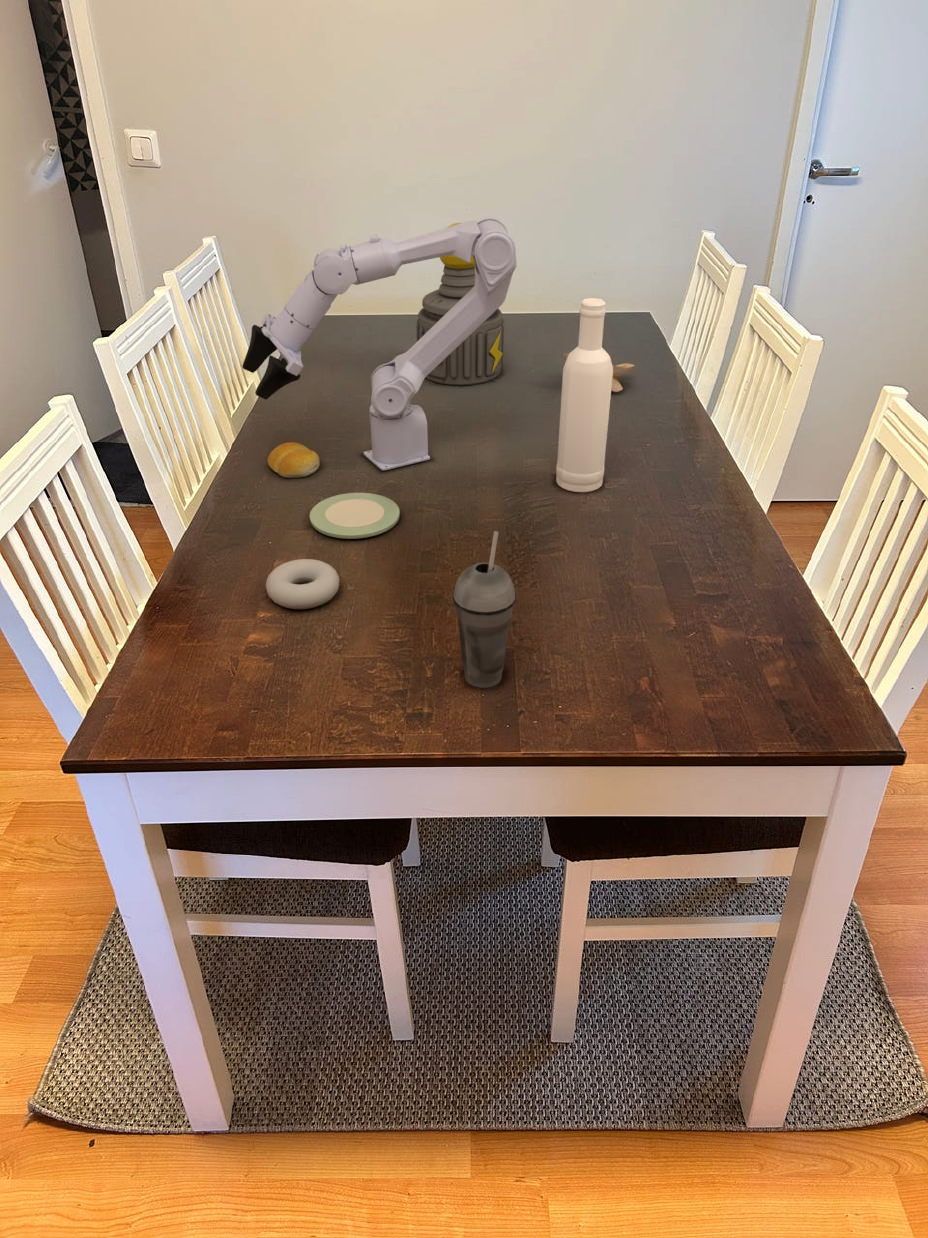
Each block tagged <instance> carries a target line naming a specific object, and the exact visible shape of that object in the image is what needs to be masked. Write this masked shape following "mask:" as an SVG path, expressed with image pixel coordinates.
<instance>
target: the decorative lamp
mask: <svg viewBox="0 0 928 1238" xmlns="http://www.w3.org/2000/svg"><path fill="white" fill-rule="evenodd" d="M461 223H462V222H455V223H452V224H450V225H449V226H447V227H446V228H448V227H451V226H454V225H458V224H461ZM439 259H440V261H441V263H442V264H443V265H444V267H443V270H442V272H443V274H442V275H441V278H440V282H441V284H439V286H438V289H435V290H433V291H431V292H429V293H427V294H426V295H424V296H423V298H422V302H421V305H422V308H421V309H420V310H419V312H418V313H417V319H416V323H415V324H416V325H415V328H416V329H415V333H416V337H415V338H416V342H417V341H418V340H419V339H420V338H422V337H423V336H424V335H425V334H426V333H427V332H428V331H429V330H430V329H431V328H432V327H433V326H434V325H435V324H436V323H437V322H438V321H439V320H440V319H441V318H442V317H443V316H444V315H445V314H446V313H447V312H448V311H449V310H450V309H451V308H452V307H453V306H454V305H456V304H457V303H458V302H459V301H460V300H461V299H462V298H463V297H464V296H465V295H466V294H467V293H468V292H469V291H470V290H471V289H472V288H473V287H474V285H475V261H474V257H473V256H472V255H471V263H468V262H466V261H463V260H461V259H459V258H457V257H455V256H453V255H448V256H443V257H439ZM504 349H505V320H504V319H503V313H502V311H501V309H500V308H498V309H497V310H496V311H495V312H494V313H493V314H492V315H491V316H489V317H488V318H487V319H486V320H485V321H484V322H483V323H482V324H481V325H480V326H479V327H478V328H477V329H476V330H475V331H474V332H473V333H472V334H471V335H469V336H468V337H467V338H466V339H465V340H464V341H463V342H462V343H461V344H460V345H459V346H458V347H457V348H456V349H455V350H454V351H453V352H452V353H450V354H449V355H448V356H447V357H446V358H445V359H444V360H443V361H442V362H441V363H440V364H439V365H438V366H437V367H436V368H435V369H434V370H433V371H432V372H430V373H429V374H428V375H427V376H426V377H425V379H427V380H428V381H431V382H433V383H435V384H441V385H445V386H460V387H462V386H475V385H480V384H484V383H487V382H491V381H493V380H494V379H495V378H497V377H498V376H499V375H500V373H501V371H502V367H504V366H503V365H504Z"/></svg>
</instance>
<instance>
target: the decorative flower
mask: <svg viewBox="0 0 928 1238" xmlns="http://www.w3.org/2000/svg"><path fill="white" fill-rule="evenodd" d="M569 353H570V352H565V353H562V354H560V356H561V357H562V358H563V359H564V360H565V361H566V360H567V358H568V355H569ZM612 366H613V377H612V388H611V392H616V393H618V392H620V391H622V390H623V389H624V388H623V386H622V385H621V383H620V381H619V379H618V378H617V377H619V376H622V375H625V374H627V373H629V372H631V371H633V370H634V367H635V366H636V365H635V364H632V363H620V364H616V365H615V364H612Z"/></svg>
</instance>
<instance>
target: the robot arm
mask: <svg viewBox="0 0 928 1238" xmlns="http://www.w3.org/2000/svg"><path fill="white" fill-rule="evenodd" d="M460 223H461V224H458V225H454V226H451V227H448V226H447V227H448V228H447V227H445V228H442V229H439V230H435V231H432V232H428V233H425V234H422V235H419V236H415V237H412V238H409V239H406V240H402V241H399V242H395V241H393V240H391V239H390V238H388V237H386V236H384V237H380V238H379V235H378V234H374V235H370V237H369V240H368V241H364V242H361V243H357V244H353V245H349V246H347V244H346V243H344V244H340V246H339V249H337V248H333V247H331V248H325V249H323V250H322V251H320V253H317V254H316V255H315V258H314V261H313V269H311V270H310V272H308V274H306V276H305V278H304V280H303V281H301V282H300V284H299V285H298V286H297V288H296V289H295V291H294V292H293V294H292V295H291V297H290V298H289V300H288V301H287V302H286V304H285V305H284V307H283V308H282V310H281V311H280V312H279V314H278V315H277V317H276V316H274V315H272V314H271V313H268V312H266V313H265V315H264V316H263V317H262V319H261V320H260V324H261V326H259V325H257V324H253V325H252V326H251V333H250V334H251V335H250V341H249V344H248V349H247V352H246V355H245V357H244V360H243V363H242V369H244V370H246V371H248V372H250V373H252V374H254V373H255V372H256V371H258V370H259V368H260V367H261V366H262V365H263V364H264V362H265V361H267V360H268V362H267V367H266V369H265V372H264V375H263V376H262V378H261V380H260V382H259V383H258V385H257V387H256V389H255V392H254V393H255V396H256V397H259V398H261V399H263V400H265V401H266V400H268V399H269V398H270V397H271V396H272V395H274V394H275V393H277V392H278V391H279V390H280V389H282V388H284V387H285V386H287V385H289V384H291V383H293V382H296V381H299V379H300V378H301V372H302V370H303V368H304V364H303V363H302V350H301V349H302V348H303V347H304V345H305V343H307V341H308V340H309V338H310V337H311V336H312V334H313V332H314V331H315V330H316V328H317V327H318V325H319V324H320V323H321V321H322V320H323V318H324V317H325V315H326V314H327V313H328V311H329V310H330V309H331V306H332V304H333V302H334V301H335V299H336V298H337V297H338V295H343V294H344V293H347V291H348V290H349V288H350V287H351V285H356V286H358V285H362V284H366V283H370V282H374V281H378V280H381V279H387V278H390V277H395V276H396V275H397V273H398V271H399V270H400V268H401V267H402V266H404V265H408V264H413V263H418V262H422V261H428V260H432V259H438V258H440V257H443V256H448V255H453V256H455V257H457V258H459V259H461V260H463V261H466V262H468V263H471V255H472V256H473V257H474V261H475V285H474V287H473V288H472V289H471V290H470V291H469V292H468V293H467V294H466V295H465V296H464V297H463V298H462V299H461V300H460V301H459V302H458V303H457V304H456V305H454V306H453V307H452V308H451V309H450V310H449V311H448V312H447V313H446V314H445V315H444V316H443V317H442V318H441V319H440V320H439V321H438V322H437V323H436V324H435V325H434V326H433V327H432V328H431V329H430V330H429V331H428V332H427V333H426V334H425V335H424V336H423V337H422V338H420V339H419V340H418V341H417V340H416V342H415V343H414V344H413V345H412V346H411V347H410V348H409V349H408V350H407V351H405V352H404V353H401V354H398V355H396V356H395V357H394V358H393V359H392V360H390V361H389V362H386V363H382V364H380V365H379V366H377V367H376V368H375V369H374V370H373V372H372V374H371V376H370V386H371V387H370V388H371V397H370V402H371V405H370V406H369V408H368V409H369V410H368V411H369V424H370V425H369V427H370V440H371V444H370V445H371V449H369V450H365V451H363V452H362V453H363V456H365V458H367V459H368V460H369V461H371V463H373V465H375V467H376V468H378V469H379V470H381V471H382V472H383V471H389V470H393V469H397V468H400V467H405V466H409V465H413V464H417V463H422V462H426V461H430V459H431V456H430V455H429V439H428V438H429V436H428V435H429V434H428V420H427V417H426V413H425V411H424V409H423V408H422V406H421V405H419V404H411V400H412V399H413V397H414V396H415V395H416V394H417V393H418V392H419V391H420V388H421V387H422V384H423V383H424V381H425V379H426V378H425V377H426V376H427V375H428V374H429V373H430V372H432V371H433V370H434V369H435V368H436V367H437V366H438V365H439V364H440V363H441V362H442V361H443V360H444V359H445V358H446V357H447V356H448V355H449V354H450V353H452V352H453V351H454V350H455V349H456V348H457V347H458V346H459V345H460V344H461V343H462V342H463V341H464V340H465V339H466V338H467V337H468V336H469V335H471V334H472V333H473V332H474V331H475V330H476V329H477V328H478V327H479V326H480V325H481V324H482V323H483V322H484V321H485V320H486V319H487V318H488V317H489V316H491V315H492V314H493V313H494V312H495V311H496V310H497V309H500V307H501V306H503V304H504V303H505V302H506V299H507V295H508V291H509V289H510V285H511V281H512V277H513V274H514V272H515V270H516V268H517V266H518V265H517V263H518V262H517V252H516V251H517V250H516V245H515V242H514V239H513V238H512V237H511V235H510V234H509V232H508V230H507V227H506V226H505V225H504V223H503V222H502V221H500V220H498V219H497V218H494V217H493V218H492V217H486V218H483V219H480V220H478V221H476V220H469V221H465V222H460ZM276 351H278V353H279V354H280V357H281V359H280V358H277V357H275V356H273V355H272V354H273V353H275V352H276Z"/></svg>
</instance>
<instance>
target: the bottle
mask: <svg viewBox="0 0 928 1238" xmlns="http://www.w3.org/2000/svg"><path fill="white" fill-rule="evenodd" d="M606 312H607V309H606V302H605V301H604V299H602V298H597V297H587V298H584V299H583V300H582V301H581V302H580V308H579V329H578V330H579V331H578V345H577V346H575V348H574V349H573V350H571V351H570V352H568V353H569V355H568V358H567V360H565V362H564V366H563V369H562V378H561V379H562V380H561V395H560V396H561V397H560V411H559V412H560V413H559V427H558V442H557V443H558V444H557V445H558V447H557V459H556V461H557V462H556V468H555V474H556V477H555V482H556V484H557V485H558V487H560V488H561V489H563V490H566V491H569V492H574V493H590V492H594V491H597V490H598V489H600V487H602V486H603V481H604V475H605V468H606V467H605V461H606V450H607V441H608V429H609V417H610V407H611V396H612V390H611V388H612V377H613V366H612V365H613V362H612V359H611V356H610V354H609V353H608V352H607V351H606V350H605V349H604V347H602V346H603V337H604V325H605V324H604V323H605V315H606V314H607V313H606Z"/></svg>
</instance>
